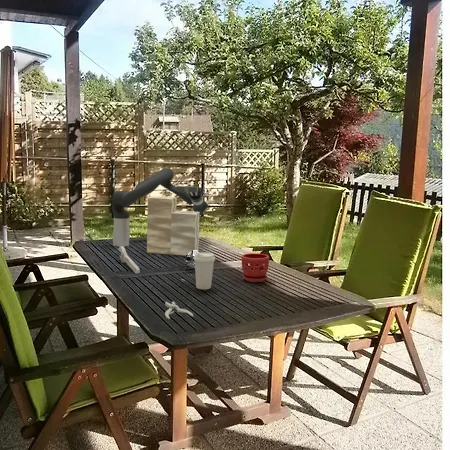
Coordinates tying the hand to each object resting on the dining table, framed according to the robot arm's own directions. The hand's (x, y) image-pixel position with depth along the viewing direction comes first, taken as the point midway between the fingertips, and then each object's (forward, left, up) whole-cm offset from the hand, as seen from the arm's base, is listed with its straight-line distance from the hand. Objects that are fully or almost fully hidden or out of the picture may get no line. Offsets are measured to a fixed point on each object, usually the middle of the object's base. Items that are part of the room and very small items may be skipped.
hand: (192, 185), depth 283 cm
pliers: (-1, -114, -39) cm, 121 cm away
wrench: (-29, -50, -39) cm, 70 cm away
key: (-1, -4, -3) cm, 5 cm away
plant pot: (+34, -68, -39) cm, 85 cm away
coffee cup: (+10, -83, -39) cm, 92 cm away
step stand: (-9, -14, -39) cm, 42 cm away
